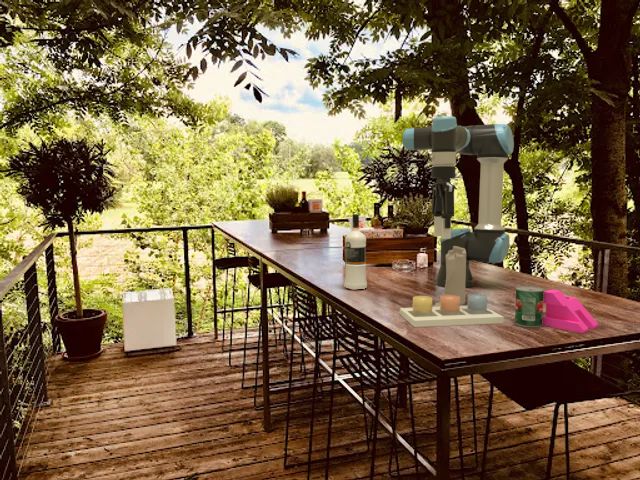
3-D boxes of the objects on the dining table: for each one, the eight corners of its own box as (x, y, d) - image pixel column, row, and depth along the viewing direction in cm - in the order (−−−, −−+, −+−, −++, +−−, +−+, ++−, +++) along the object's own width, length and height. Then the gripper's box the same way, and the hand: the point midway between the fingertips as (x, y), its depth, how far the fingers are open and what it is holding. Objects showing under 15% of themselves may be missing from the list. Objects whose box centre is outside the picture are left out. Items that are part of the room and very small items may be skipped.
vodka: (371, 289, 218) (371, 214, 214) (351, 291, 213) (351, 215, 210) (359, 285, 226) (359, 213, 222) (340, 287, 222) (339, 214, 218)
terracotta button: (437, 307, 174) (437, 295, 174) (455, 306, 175) (455, 294, 175) (444, 311, 168) (444, 299, 168) (462, 311, 169) (463, 298, 169)
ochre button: (410, 308, 173) (410, 296, 173) (428, 307, 174) (428, 295, 173) (416, 313, 167) (416, 300, 167) (434, 312, 168) (435, 299, 168)
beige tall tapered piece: (428, 305, 190) (429, 248, 188) (452, 299, 199) (453, 245, 197) (445, 309, 185) (446, 250, 182) (469, 302, 193) (470, 246, 191)
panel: (399, 314, 178) (399, 308, 178) (481, 310, 182) (481, 304, 182) (414, 327, 162) (414, 320, 162) (503, 323, 166) (503, 316, 166)
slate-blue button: (464, 306, 175) (464, 294, 175) (482, 305, 176) (482, 293, 176) (472, 310, 170) (472, 298, 169) (490, 309, 170) (490, 297, 170)
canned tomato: (510, 321, 169) (511, 286, 167) (535, 320, 169) (536, 285, 168) (521, 328, 161) (522, 291, 160) (547, 327, 161) (548, 290, 160)
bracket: (542, 325, 164) (543, 291, 163) (558, 319, 171) (559, 287, 170) (583, 333, 155) (585, 298, 154) (598, 326, 162) (599, 292, 161)
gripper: (422, 166, 184) (421, 234, 186) (443, 165, 164) (441, 241, 167) (443, 166, 185) (442, 234, 187) (466, 165, 165) (465, 240, 168)
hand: (442, 237), depth 177 cm, fingers open, 6 cm apart
